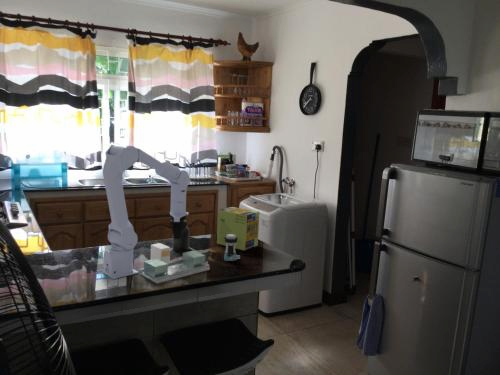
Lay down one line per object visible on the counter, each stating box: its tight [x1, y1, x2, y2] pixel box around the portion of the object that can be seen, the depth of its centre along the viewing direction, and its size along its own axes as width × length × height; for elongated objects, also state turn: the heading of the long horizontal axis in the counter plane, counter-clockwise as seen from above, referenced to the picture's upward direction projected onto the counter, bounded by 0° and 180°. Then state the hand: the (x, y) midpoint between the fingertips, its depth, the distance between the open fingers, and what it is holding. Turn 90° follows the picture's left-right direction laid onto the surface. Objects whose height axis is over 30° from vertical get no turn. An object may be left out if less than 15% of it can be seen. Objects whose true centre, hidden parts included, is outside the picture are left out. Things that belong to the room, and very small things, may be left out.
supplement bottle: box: [171, 219, 190, 252], centre depth 174 cm, size 7×7×12 cm
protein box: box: [216, 206, 260, 251], centre depth 184 cm, size 10×15×16 cm
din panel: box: [139, 250, 211, 284], centre depth 147 cm, size 22×11×5 cm, turn 134°
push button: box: [223, 234, 241, 262], centre depth 163 cm, size 7×5×10 cm
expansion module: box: [150, 242, 171, 263], centre depth 158 cm, size 4×7×6 cm, turn 44°
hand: (177, 236), depth 160 cm, fingers open, 7 cm apart
